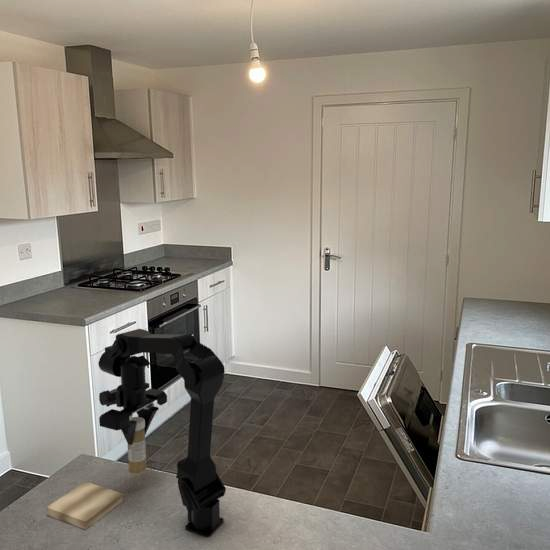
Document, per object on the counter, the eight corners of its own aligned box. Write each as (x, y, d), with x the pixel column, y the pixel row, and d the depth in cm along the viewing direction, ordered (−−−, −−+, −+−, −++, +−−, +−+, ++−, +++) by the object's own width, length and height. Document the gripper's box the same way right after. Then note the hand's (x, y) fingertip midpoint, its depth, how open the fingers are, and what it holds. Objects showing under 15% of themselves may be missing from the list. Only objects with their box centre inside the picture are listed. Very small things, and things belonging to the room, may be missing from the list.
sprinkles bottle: (130, 465, 139) (127, 416, 136) (148, 464, 139) (146, 415, 137) (127, 475, 134) (124, 424, 132) (145, 474, 134) (143, 423, 132)
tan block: (122, 501, 132) (122, 493, 131) (85, 529, 121) (85, 521, 121) (86, 488, 137) (85, 481, 137) (47, 515, 126) (46, 507, 126)
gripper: (133, 364, 144) (136, 419, 147) (79, 388, 128) (84, 449, 130) (167, 370, 139) (169, 427, 142) (116, 397, 123) (119, 460, 126)
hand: (136, 440), depth 135 cm, fingers closed on sprinkles bottle, 4 cm apart
